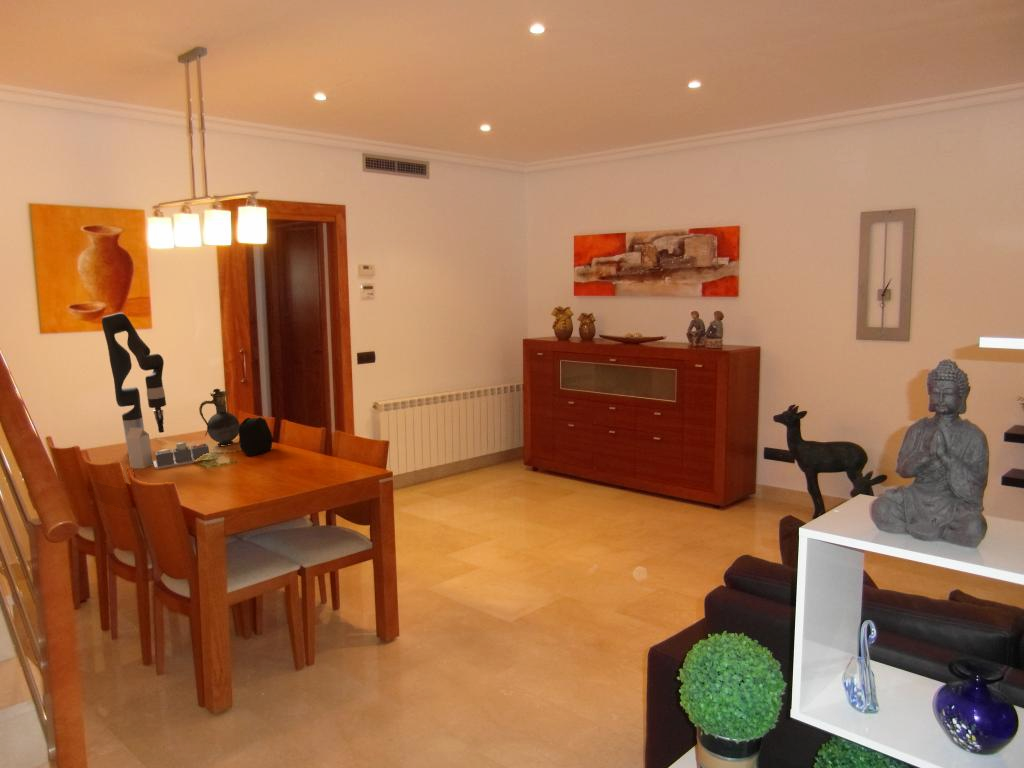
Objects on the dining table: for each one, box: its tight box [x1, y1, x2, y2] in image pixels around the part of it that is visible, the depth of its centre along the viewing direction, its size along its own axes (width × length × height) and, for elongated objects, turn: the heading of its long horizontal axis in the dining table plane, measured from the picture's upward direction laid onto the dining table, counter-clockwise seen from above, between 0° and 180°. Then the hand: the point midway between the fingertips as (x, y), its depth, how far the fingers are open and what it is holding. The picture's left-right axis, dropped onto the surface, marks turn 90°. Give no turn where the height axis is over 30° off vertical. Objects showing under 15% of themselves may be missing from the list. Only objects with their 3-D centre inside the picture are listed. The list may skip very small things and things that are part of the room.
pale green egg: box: [175, 442, 188, 451], centre depth 369 cm, size 4×4×5 cm
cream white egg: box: [158, 448, 170, 454], centre depth 366 cm, size 4×4×5 cm
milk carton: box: [125, 428, 154, 469], centre depth 363 cm, size 7×7×19 cm
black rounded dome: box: [237, 416, 275, 456], centre depth 377 cm, size 18×18×17 cm
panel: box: [152, 443, 210, 470], centre depth 370 cm, size 14×26×6 cm, turn 119°
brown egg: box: [193, 442, 205, 448], centre depth 373 cm, size 4×4×5 cm
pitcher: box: [198, 388, 241, 447], centre depth 395 cm, size 11×19×30 cm, turn 136°
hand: (161, 432), depth 364 cm, fingers closed
